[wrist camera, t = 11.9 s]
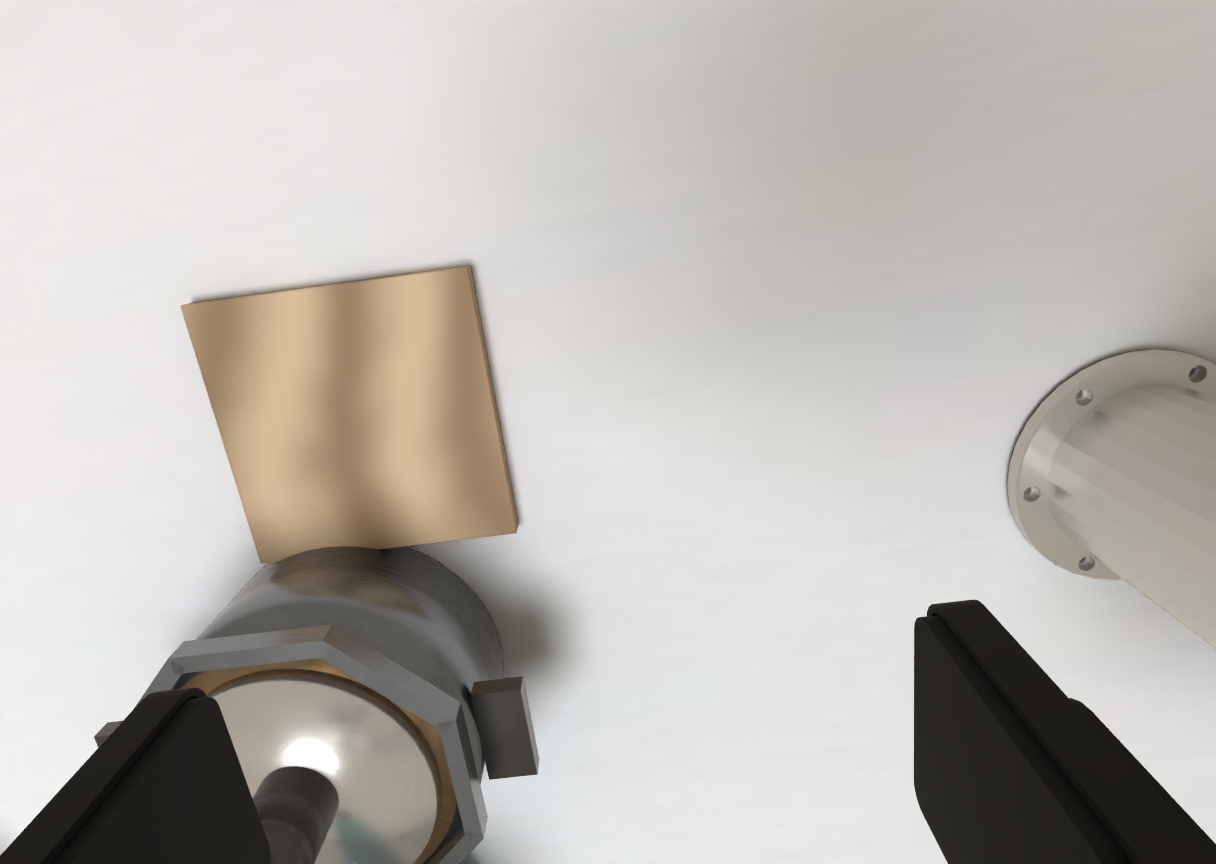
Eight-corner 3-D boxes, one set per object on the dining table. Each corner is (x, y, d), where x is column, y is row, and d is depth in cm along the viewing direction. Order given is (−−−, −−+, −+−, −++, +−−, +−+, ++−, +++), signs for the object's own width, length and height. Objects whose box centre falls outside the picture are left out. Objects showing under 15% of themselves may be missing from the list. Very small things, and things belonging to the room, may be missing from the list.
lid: (496, 786, 34) (474, 906, 28) (324, 919, 37) (272, 1054, 31) (287, 617, 31) (216, 713, 25) (117, 776, 34) (18, 895, 28)
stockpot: (519, 516, 40) (490, 621, 30) (562, 752, 45) (550, 908, 35) (149, 560, 40) (5, 677, 31) (232, 787, 45) (131, 949, 36)
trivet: (470, 265, 35) (466, 267, 35) (518, 524, 40) (516, 532, 39) (191, 302, 36) (180, 305, 35) (269, 554, 40) (260, 563, 39)
